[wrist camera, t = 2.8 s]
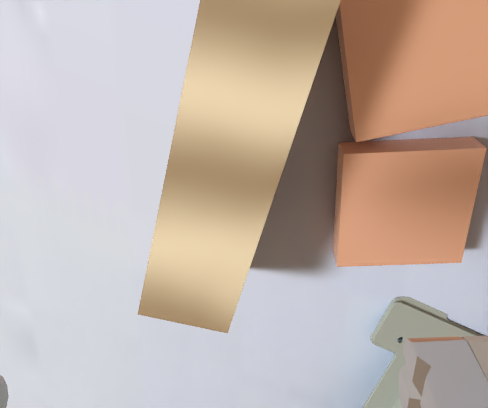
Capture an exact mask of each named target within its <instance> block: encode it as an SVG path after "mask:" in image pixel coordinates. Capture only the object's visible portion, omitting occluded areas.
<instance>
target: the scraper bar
mask: <svg viewBox="0 0 488 408" xmlns="http://www.w3.org/2000/svg"><path fill="white" fill-rule="evenodd" d="M340 1H341V0H200V5H199V10H198V15H197V20H196V25H195V30H194V35H193V40H192V45H191V50H190V55H189V60H188V65H187V70H186V75H185V80H184V85H183V90H182V95H181V100H180V105H179V110H178V115H177V120H176V125H175V130H174V135H173V140H172V145H171V150H170V155H169V160H168V165H167V170H166V175H165V180H164V185H163V190H162V195H161V200H160V205H159V210H158V215H157V220H156V225H155V230H154V235H153V240H152V245H151V251H150V256H149V261H148V266H147V271H146V276H145V281H144V286H143V291H142V296H141V301H140V306H139V311H138V314H139V315H144V316H148V317H153V318H158V319H163V320H167V321H172V322H177V323H182V324H186V325H191V326H196V327H201V328H205V329H210V330H215V331H220V332H224V333H228V330H229V327H230V324H231V321H232V318H233V315H234V313H235V310H236V307H237V304H238V301H239V298H240V295H241V292H242V289H243V286H244V283H245V280H246V277H247V274H248V271H249V268H250V266H251V263H252V260H253V257H254V254H255V251H256V248H257V245H258V242H259V239H260V236H261V233H262V230H263V227H264V224H265V221H266V219H267V216H268V213H269V210H270V207H271V204H272V201H273V198H274V195H275V192H276V189H277V186H278V183H279V180H280V177H281V174H282V171H283V169H284V166H285V163H286V160H287V157H288V154H289V151H290V148H291V145H292V142H293V139H294V136H295V133H296V130H297V127H298V124H299V122H300V119H301V116H302V113H303V110H304V107H305V104H306V101H307V98H308V95H309V92H310V89H311V86H312V83H313V80H314V77H315V75H316V72H317V69H318V66H319V63H320V60H321V57H322V54H323V51H324V48H325V45H326V42H327V39H328V36H329V33H330V30H331V28H332V25H333V22H334V19H335V16H336V13H337V10H338V7H339V4H340Z"/></svg>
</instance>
